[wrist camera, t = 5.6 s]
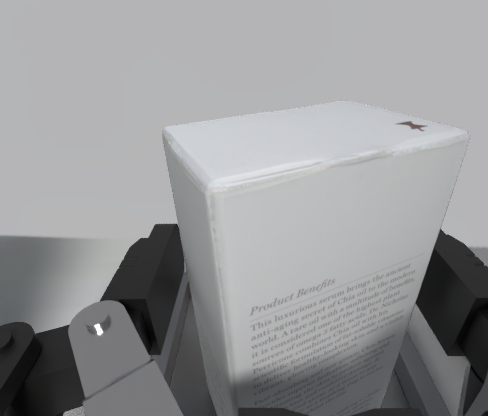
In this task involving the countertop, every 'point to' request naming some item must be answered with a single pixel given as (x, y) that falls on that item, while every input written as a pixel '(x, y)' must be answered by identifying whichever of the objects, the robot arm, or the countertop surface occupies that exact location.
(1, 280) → the countertop surface
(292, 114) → the skincare box
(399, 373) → the grey flat rectangular frame
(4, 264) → the countertop surface
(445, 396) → the countertop surface
